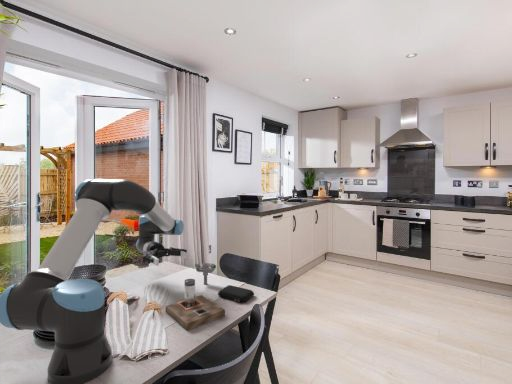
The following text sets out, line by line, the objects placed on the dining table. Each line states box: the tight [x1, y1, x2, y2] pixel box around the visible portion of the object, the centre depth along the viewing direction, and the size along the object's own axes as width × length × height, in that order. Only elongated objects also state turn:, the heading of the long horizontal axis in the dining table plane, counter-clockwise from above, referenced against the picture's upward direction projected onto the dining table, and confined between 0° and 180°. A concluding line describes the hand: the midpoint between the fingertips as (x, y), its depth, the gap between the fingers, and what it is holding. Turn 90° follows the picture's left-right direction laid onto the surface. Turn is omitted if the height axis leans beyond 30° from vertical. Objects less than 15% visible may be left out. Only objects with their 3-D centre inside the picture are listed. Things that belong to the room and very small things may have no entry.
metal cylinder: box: [184, 278, 196, 308], centre depth 113 cm, size 4×4×12 cm
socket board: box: [165, 294, 226, 331], centre depth 110 cm, size 16×17×3 cm
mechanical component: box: [194, 262, 217, 285], centre depth 140 cm, size 3×10×10 cm, turn 78°
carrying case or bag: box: [217, 284, 255, 303], centre depth 126 cm, size 11×3×15 cm
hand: (173, 259), depth 121 cm, fingers open, 13 cm apart
